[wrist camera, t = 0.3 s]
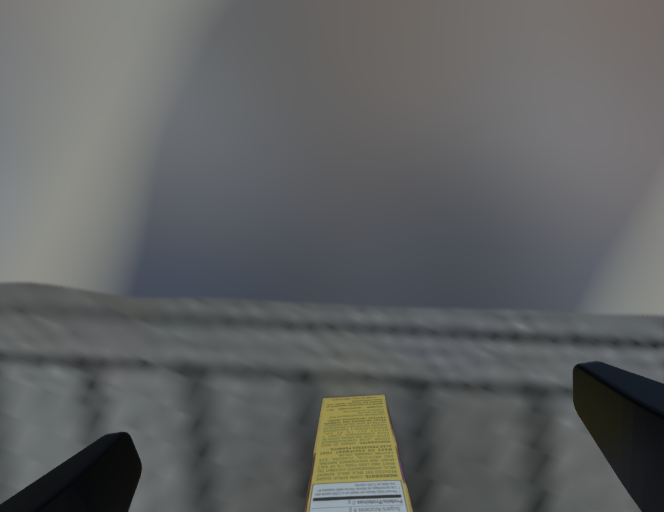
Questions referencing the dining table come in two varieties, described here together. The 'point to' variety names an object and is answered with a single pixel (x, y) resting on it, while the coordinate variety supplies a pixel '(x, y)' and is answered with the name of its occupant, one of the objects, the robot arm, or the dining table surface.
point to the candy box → (356, 459)
